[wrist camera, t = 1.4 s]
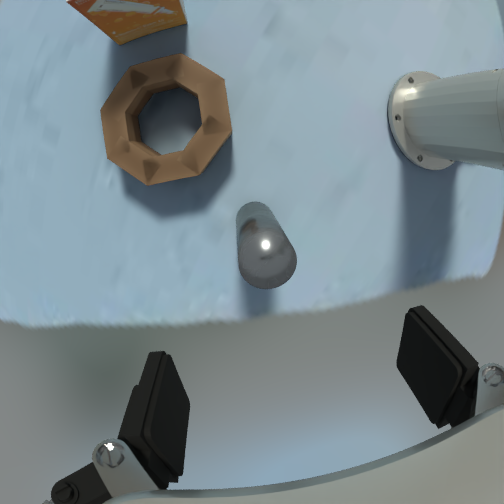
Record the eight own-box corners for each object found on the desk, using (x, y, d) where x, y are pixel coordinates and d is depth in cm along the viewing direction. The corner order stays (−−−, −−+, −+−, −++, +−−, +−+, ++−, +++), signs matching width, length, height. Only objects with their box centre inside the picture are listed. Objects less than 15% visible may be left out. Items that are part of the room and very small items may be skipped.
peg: (270, 199, 30) (294, 230, 19) (275, 234, 32) (298, 284, 21) (233, 204, 30) (234, 239, 19) (239, 240, 32) (243, 293, 21)
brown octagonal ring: (220, 58, 25) (219, 45, 21) (237, 166, 29) (237, 168, 25) (112, 84, 25) (97, 77, 21) (127, 187, 29) (114, 193, 25)
